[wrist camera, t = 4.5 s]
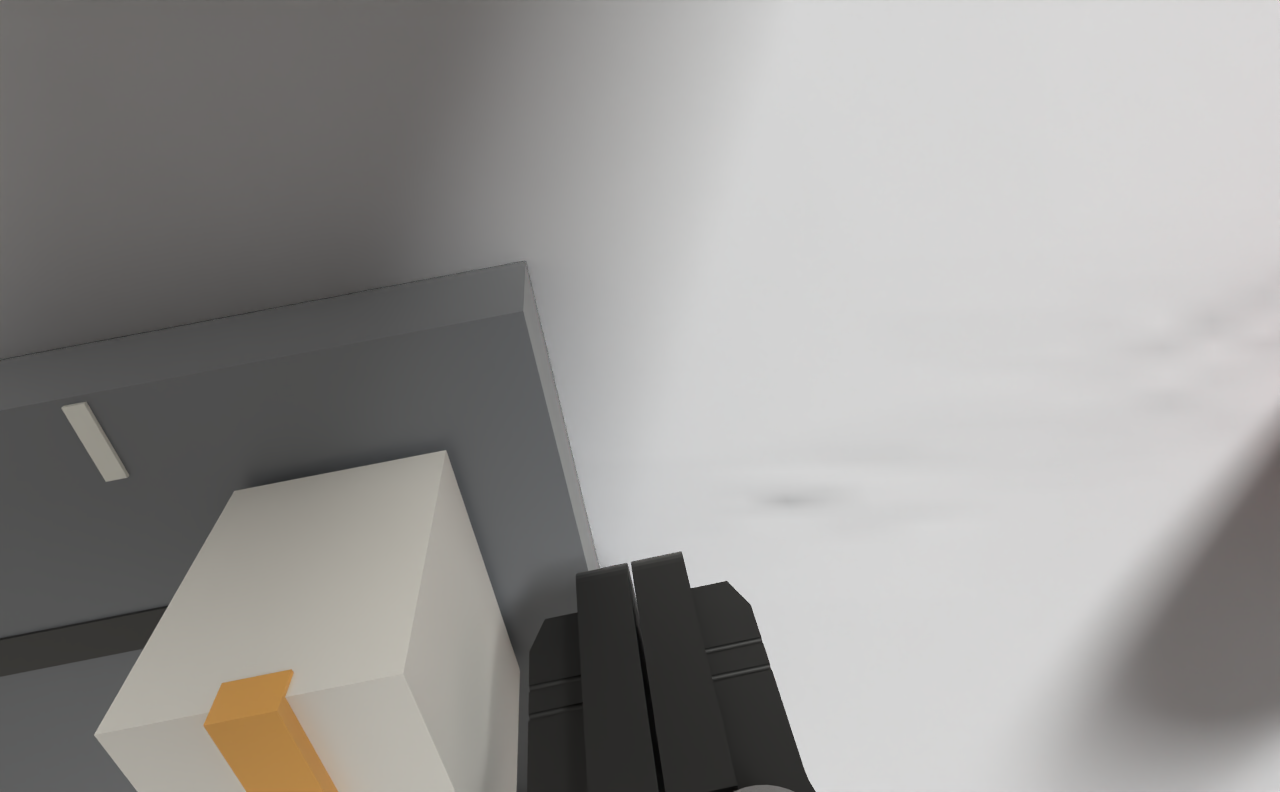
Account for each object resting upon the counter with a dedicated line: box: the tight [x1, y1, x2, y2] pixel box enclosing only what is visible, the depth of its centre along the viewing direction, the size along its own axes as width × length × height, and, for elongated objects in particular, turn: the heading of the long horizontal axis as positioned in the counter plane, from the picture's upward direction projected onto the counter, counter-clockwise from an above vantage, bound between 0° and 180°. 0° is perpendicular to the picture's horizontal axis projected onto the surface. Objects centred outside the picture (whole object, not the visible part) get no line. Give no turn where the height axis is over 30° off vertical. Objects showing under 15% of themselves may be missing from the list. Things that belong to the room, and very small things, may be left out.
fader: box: [94, 450, 520, 792], centre depth 10 cm, size 5×3×4 cm, turn 9°
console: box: [0, 261, 600, 792], centre depth 15 cm, size 16×18×3 cm
